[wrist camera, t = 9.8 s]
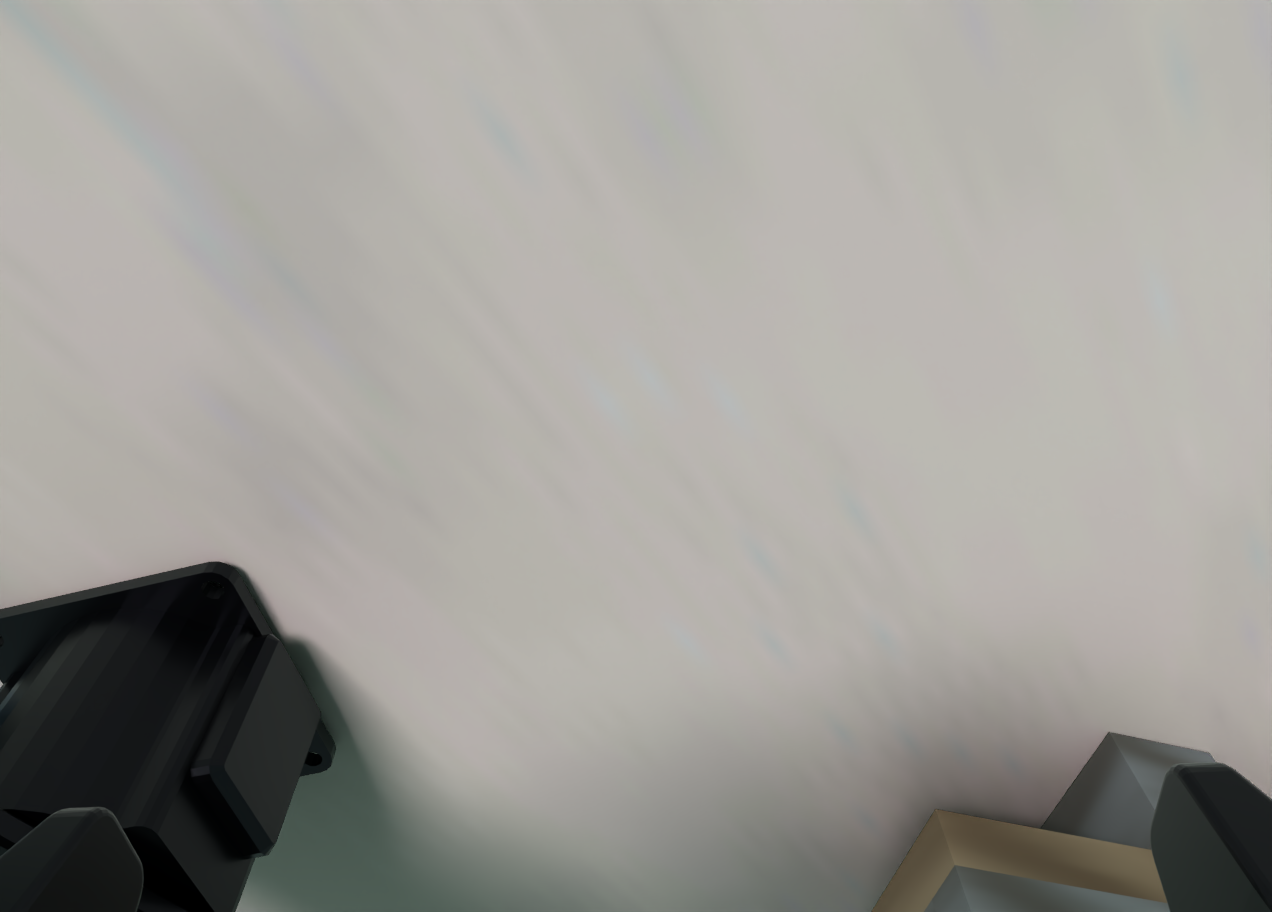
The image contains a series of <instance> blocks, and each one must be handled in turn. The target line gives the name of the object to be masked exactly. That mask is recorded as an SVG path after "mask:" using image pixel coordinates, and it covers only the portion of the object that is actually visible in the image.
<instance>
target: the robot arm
mask: <svg viewBox="0 0 1272 912" xmlns="http://www.w3.org/2000/svg"><path fill="white" fill-rule="evenodd" d="M209 581H215V582H217V583H220V584H221V585H222V586H223V587H224V588H217V587H215V586H212V585H211V584H210V583H209ZM0 680H1V682H2V683H3V685H2V687H1V688H0V912H235V911H236V909H237V906H238V903H239V901H240V898H241V895H242V892H243V890H244V887H245V884H246V881H247V879H248V876H249V873H250V871H251V868H252V865H253V862H254V860H255V858H256V857H261V856H266V855H269V853H270V851H271V850H272V848H273V847H274V845H275V843H276V841H277V839H278V836H279V833H280V830H281V827H282V824H283V822H284V819H285V816H286V813H287V810H288V807H289V804H290V802H291V799H292V796H293V793H294V790H295V787H296V785H297V782H298V779H299V777H300V776H305V775H310V774H315V773H320V772H322V771H325V770H327V769H328V768H329V767H330V766H331V763H332V760H333V757H334V754H335V750H336V747H335V743H334V741H333V740H332V738H331V736H330V734H329V733H328V731H327V729H326V727H325V725H324V724H323V722H322V720H321V718H320V716H321V712H320V710H319V708H318V706H317V704H316V703H315V701H314V699H313V697H312V695H311V694H310V692H309V690H308V688H307V687H306V685H305V683H304V681H303V679H302V678H301V676H300V674H299V672H298V670H297V669H296V667H295V665H294V663H293V662H292V660H291V658H290V656H289V654H288V653H287V651H286V649H285V647H284V646H283V644H282V642H281V641H280V640H279V639H278V638H276V637H275V636H274V635H273V633H272V631H271V630H270V628H269V626H268V624H267V623H266V621H265V619H264V617H263V615H262V614H261V612H260V610H259V608H258V607H257V605H256V603H255V601H254V599H253V598H252V596H251V594H250V592H249V591H248V589H247V587H246V585H245V584H244V582H243V580H242V578H241V576H240V575H239V573H238V572H237V571H236V570H235V569H234V568H233V567H231V566H229V565H228V564H225V563H221V562H207V563H203V564H198V565H194V566H189V567H185V568H181V569H176V570H172V571H167V572H163V573H159V574H154V575H150V576H145V577H141V578H137V579H132V580H128V581H123V582H119V583H115V584H110V585H106V586H101V587H97V588H93V589H88V590H84V591H79V592H75V593H71V594H66V595H62V596H57V597H53V598H48V599H44V600H40V601H35V602H31V603H26V604H22V605H18V606H13V607H9V608H4V609H0ZM311 752H315V753H318V754H314V753H311ZM1150 844H1151V850H1152V855H1153V859H1154V862H1155V865H1156V868H1157V871H1158V875H1159V878H1160V881H1161V884H1162V887H1163V891H1164V894H1165V897H1166V900H1167V903H1168V907H1169V910H1170V912H1272V799H1271V798H1270V797H1268V796H1267V795H1266V794H1265V793H1263V792H1262V791H1261V790H1260V789H1258V788H1257V787H1256V786H1255V785H1253V784H1252V783H1251V782H1250V781H1248V780H1247V779H1246V778H1245V777H1243V776H1242V775H1241V774H1240V773H1238V772H1237V771H1236V770H1234V769H1233V768H1231V767H1229V766H1227V765H1225V764H1222V763H1217V762H1202V763H1179V764H1174V765H1173V766H1171V767H1170V768H1169V769H1168V770H1167V772H1166V774H1165V777H1164V780H1163V784H1162V787H1161V791H1160V794H1159V798H1158V801H1157V805H1156V808H1155V812H1154V815H1153V819H1152V823H1151V828H1150Z"/></svg>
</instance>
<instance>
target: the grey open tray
mask: <svg viewBox="0 0 1272 912" xmlns="http://www.w3.org/2000/svg"><path fill="white" fill-rule="evenodd" d="M1202 762H1215V760H1214V759H1213V757H1212V756H1211V754H1210V753H1206V752H1202V751H1197V750H1192V749H1187V748H1182V747H1178V746H1173V745H1168V744H1163V743H1158V742H1154V741H1149V740H1144V739H1139V738H1134V737H1130V736H1125V735H1120V734H1115V733H1110V732H1109V733H1108V735H1107V736H1106V737H1105V739H1104V740H1103V742H1102V743H1101V744H1100V746H1099V747H1098V749H1097V750H1096V752H1095V753H1094V754H1093V756H1092V757H1091V759H1090V760H1089V761H1088V763H1087V764H1086V766H1085V767H1084V768H1083V770H1082V771H1081V773H1080V774H1079V775H1078V777H1077V778H1076V780H1075V781H1074V783H1073V784H1072V785H1071V787H1070V788H1069V790H1068V791H1067V792H1066V794H1065V795H1064V797H1063V798H1062V799H1061V801H1060V802H1059V804H1058V805H1057V806H1056V808H1055V809H1054V811H1053V812H1052V813H1051V815H1050V816H1049V818H1048V819H1047V821H1046V822H1045V823H1044V825H1043V826H1042V828H1041V829H1038V828H1033V827H1027V826H1022V825H1017V824H1011V823H1006V822H1001V821H995V820H990V819H985V818H980V817H974V816H969V815H964V814H958V813H953V812H948V811H943V810H937V809H935V811H934V812H933V814H932V815H931V817H930V819H929V820H928V822H927V823H926V825H925V827H924V828H923V830H922V831H921V833H920V835H919V836H918V838H917V839H916V841H915V843H914V844H913V846H912V847H911V849H910V851H909V852H908V854H907V855H906V857H905V859H904V860H903V862H902V863H901V865H900V867H899V868H898V870H897V871H896V873H895V875H894V876H893V878H892V879H891V881H890V883H889V884H888V886H887V887H886V889H885V891H884V892H883V894H882V895H881V897H880V899H879V900H878V902H877V903H876V905H875V907H874V908H873V910H872V911H871V912H1170V910H1169V907H1168V903H1167V900H1166V897H1165V894H1164V891H1163V887H1162V884H1161V881H1160V878H1159V875H1158V871H1157V868H1156V865H1155V862H1154V859H1153V855H1152V850H1151V844H1150V828H1151V823H1152V819H1153V815H1154V812H1155V808H1156V805H1157V801H1158V798H1159V794H1160V791H1161V787H1162V784H1163V780H1164V777H1165V774H1166V772H1167V770H1168V769H1169V768H1170V767H1171V766H1173V765H1174V764H1179V763H1202Z"/></svg>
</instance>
